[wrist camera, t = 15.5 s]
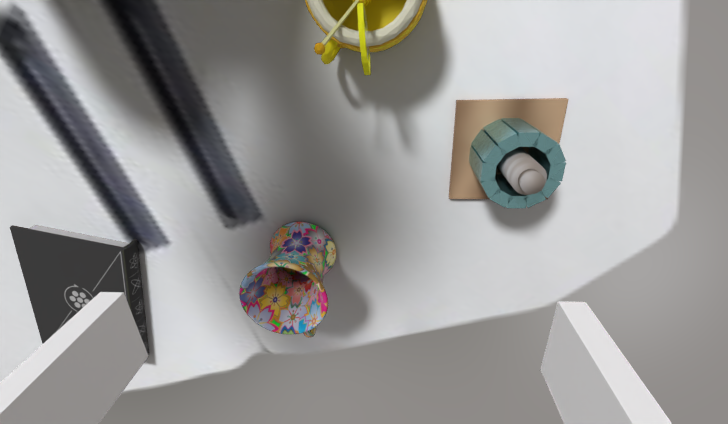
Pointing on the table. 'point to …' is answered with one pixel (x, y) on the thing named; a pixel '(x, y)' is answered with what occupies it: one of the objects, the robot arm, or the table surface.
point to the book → (76, 274)
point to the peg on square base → (515, 163)
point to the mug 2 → (363, 25)
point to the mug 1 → (291, 281)
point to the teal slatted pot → (503, 140)
